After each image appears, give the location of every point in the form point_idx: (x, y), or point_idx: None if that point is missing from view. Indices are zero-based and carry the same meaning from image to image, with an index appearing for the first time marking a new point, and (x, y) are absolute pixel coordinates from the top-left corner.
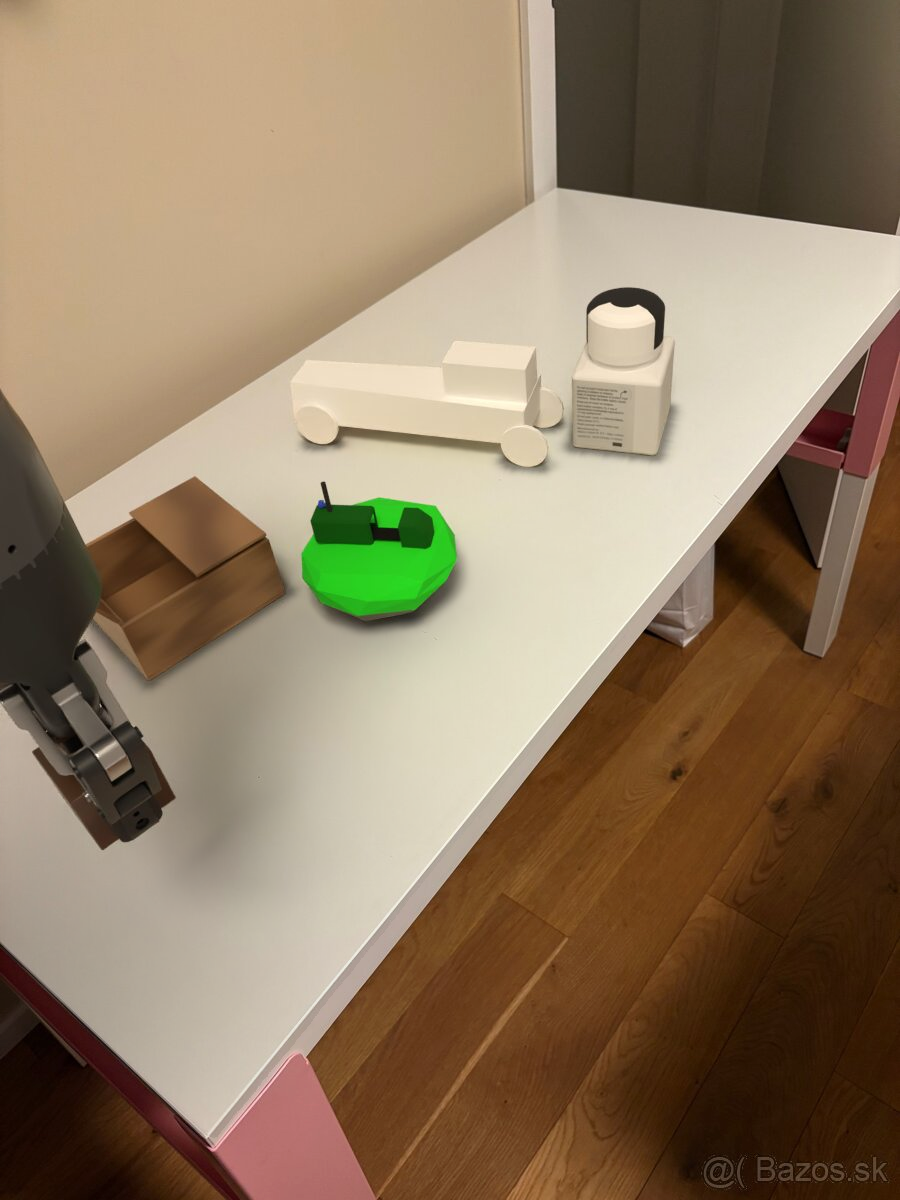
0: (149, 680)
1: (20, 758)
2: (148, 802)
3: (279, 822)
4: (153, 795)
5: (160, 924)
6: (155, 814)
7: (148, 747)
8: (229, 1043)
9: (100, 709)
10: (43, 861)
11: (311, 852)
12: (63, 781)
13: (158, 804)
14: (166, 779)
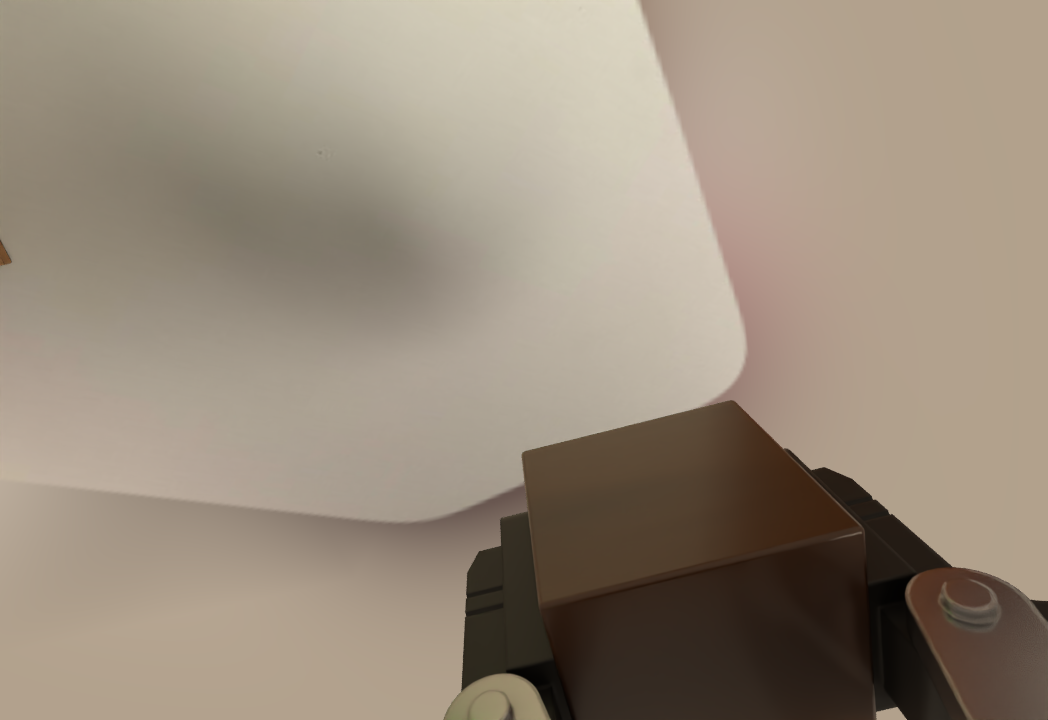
0: (10, 261)
1: (116, 478)
2: (906, 527)
3: (424, 155)
4: (828, 489)
5: (497, 363)
6: (865, 491)
7: (851, 530)
8: (694, 330)
9: (562, 639)
10: (322, 476)
11: (503, 129)
12: None
13: (805, 466)
14: (765, 435)
